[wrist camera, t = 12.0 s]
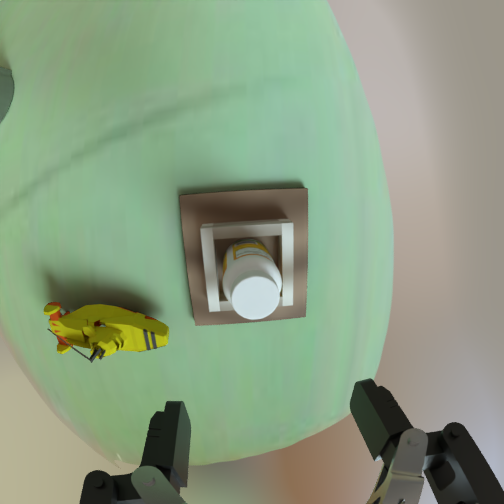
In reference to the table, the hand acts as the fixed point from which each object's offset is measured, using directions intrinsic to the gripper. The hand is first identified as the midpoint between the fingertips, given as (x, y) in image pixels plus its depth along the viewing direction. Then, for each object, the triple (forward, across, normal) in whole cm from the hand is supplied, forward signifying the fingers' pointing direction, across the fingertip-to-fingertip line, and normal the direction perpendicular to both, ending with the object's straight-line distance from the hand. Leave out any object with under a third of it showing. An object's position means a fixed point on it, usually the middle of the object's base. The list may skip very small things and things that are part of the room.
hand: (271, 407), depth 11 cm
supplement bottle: (+21, 0, 0) cm, 21 cm away
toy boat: (+22, +19, +7) cm, 30 cm away
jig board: (+22, 0, 0) cm, 22 cm away
